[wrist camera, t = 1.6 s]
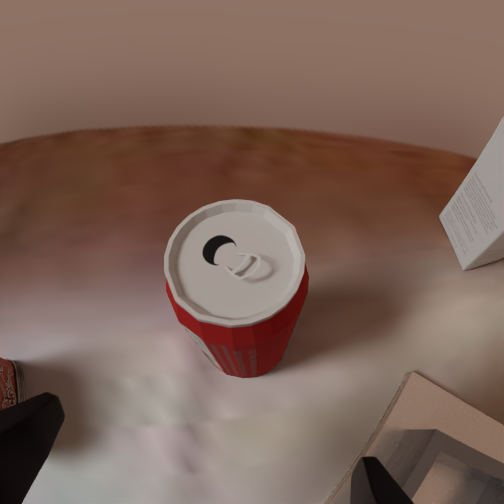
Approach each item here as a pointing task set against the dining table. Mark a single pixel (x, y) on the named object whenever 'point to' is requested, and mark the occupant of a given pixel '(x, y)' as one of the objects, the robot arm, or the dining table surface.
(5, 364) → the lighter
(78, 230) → the dining table surface
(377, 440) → the cup bracket
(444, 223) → the skincare box
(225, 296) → the soda can
